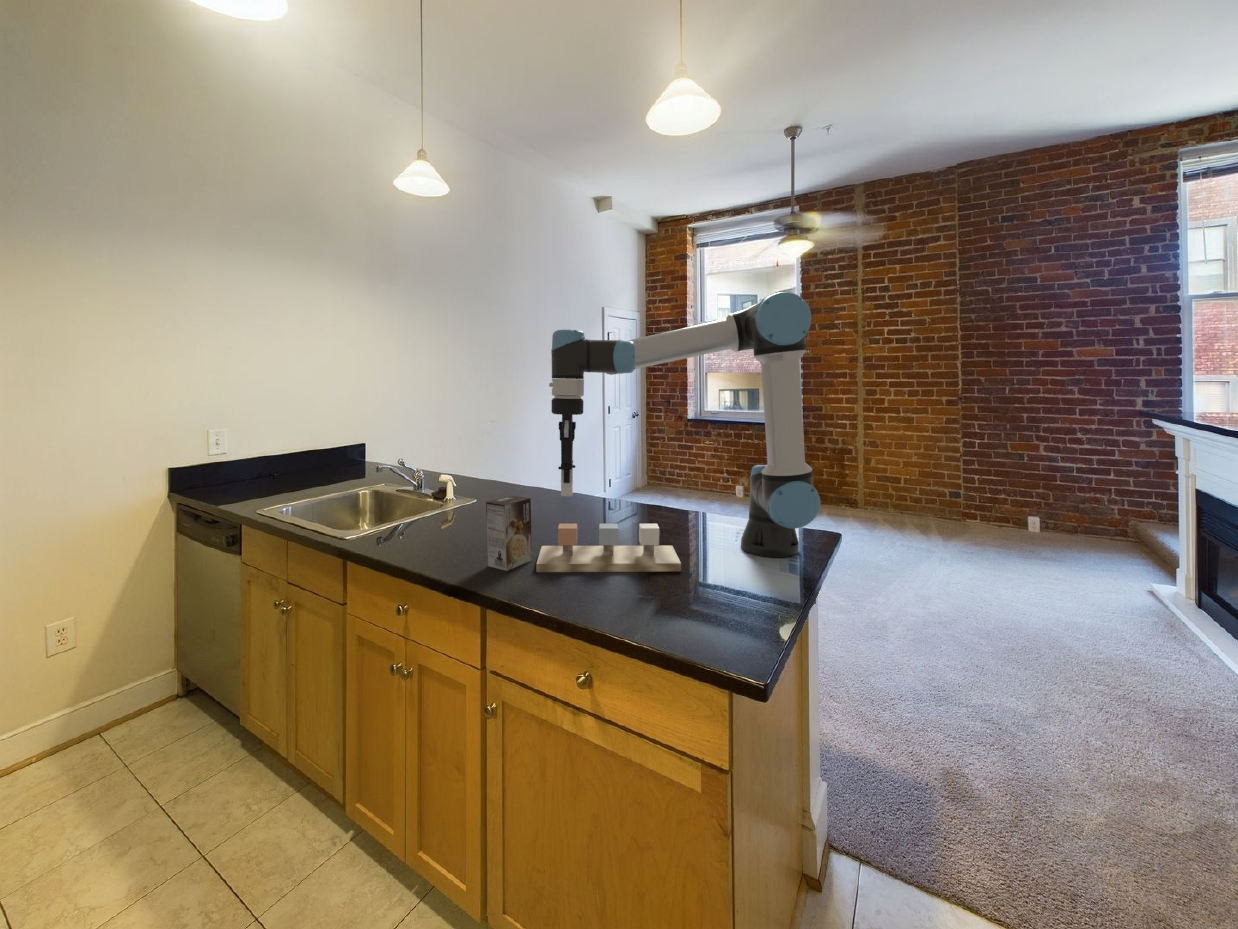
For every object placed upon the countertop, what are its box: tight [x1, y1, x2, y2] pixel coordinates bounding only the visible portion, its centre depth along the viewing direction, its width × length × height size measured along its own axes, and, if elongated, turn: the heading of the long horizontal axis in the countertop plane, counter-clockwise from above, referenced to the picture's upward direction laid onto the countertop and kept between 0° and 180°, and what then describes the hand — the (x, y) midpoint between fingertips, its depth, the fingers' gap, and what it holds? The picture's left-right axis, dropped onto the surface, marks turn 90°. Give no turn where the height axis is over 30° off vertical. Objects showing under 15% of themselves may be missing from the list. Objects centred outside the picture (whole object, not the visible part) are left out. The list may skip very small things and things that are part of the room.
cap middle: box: [598, 523, 619, 546], centre depth 131 cm, size 4×4×4 cm
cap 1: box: [557, 523, 578, 546], centre depth 131 cm, size 4×4×4 cm
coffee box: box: [485, 495, 533, 572], centre depth 129 cm, size 9×6×16 cm
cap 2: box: [638, 523, 660, 546], centre depth 132 cm, size 4×4×4 cm
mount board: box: [535, 545, 682, 573], centre depth 132 cm, size 34×14×5 cm, turn 93°
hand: (566, 495), depth 129 cm, fingers closed
